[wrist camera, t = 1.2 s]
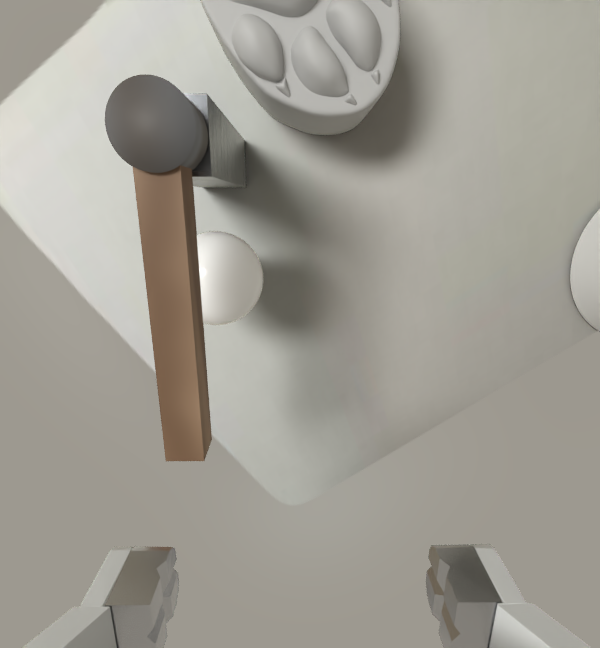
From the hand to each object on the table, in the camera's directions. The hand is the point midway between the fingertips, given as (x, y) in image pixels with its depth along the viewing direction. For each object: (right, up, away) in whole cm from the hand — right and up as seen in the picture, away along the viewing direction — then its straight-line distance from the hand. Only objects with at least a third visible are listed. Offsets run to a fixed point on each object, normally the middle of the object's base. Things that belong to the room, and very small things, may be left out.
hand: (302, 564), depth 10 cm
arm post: (-6, +19, +23) cm, 30 cm away
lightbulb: (-6, +12, +25) cm, 28 cm away
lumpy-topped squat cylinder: (0, +27, +21) cm, 34 cm away
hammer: (-6, +8, +10) cm, 15 cm away
